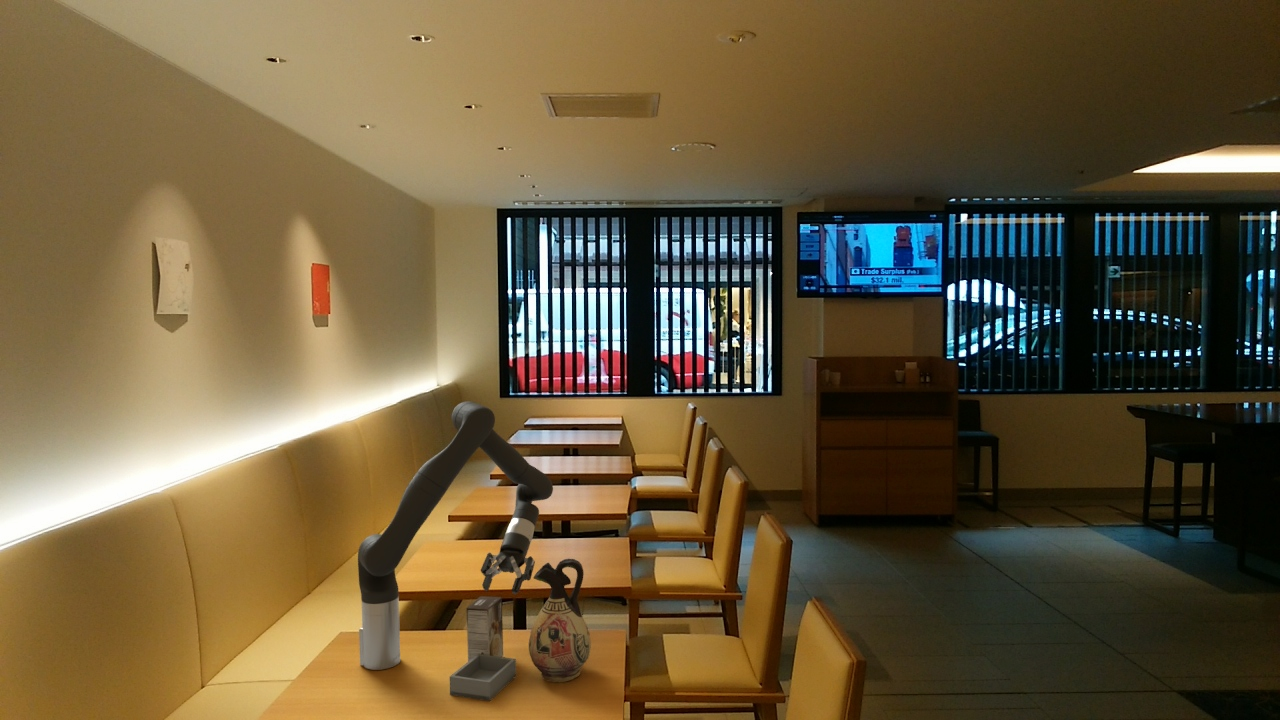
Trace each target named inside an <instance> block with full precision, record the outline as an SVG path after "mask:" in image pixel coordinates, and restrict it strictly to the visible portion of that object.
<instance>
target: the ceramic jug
mask: <svg viewBox="0 0 1280 720" xmlns="http://www.w3.org/2000/svg"><path fill="white" fill-rule="evenodd" d="M564 568H571V569H573V570H575V571H576V579H575V584H574V587H573V589H572V592H571V594H570V596H569V595H568V593H567V591H566V588H565V587H566V586H568V585H571V583H572V580H571V579H570V577H569V576H568V575H567V574H565V572H563V569H564ZM532 578H533V579H534V580H535V581H539V582H543V583H545V584H548V585H549V587H550V589H551V592H550V595H549V596H548V599H547V600H546V601H545V603H544V604H543V606H542V608H540V611H539V612H538V614H537V616H536V618H535V620H534V621H533V624H532V627H531V630H530V635H529V639H528V652H529V653H528V654H529V656H530V659H531V661H532V663H533V665H534V666H535V668H536V669H537V670H538V671H539V672H540V673H541V677H542V679H543V678H544V679H543V680H545V681H547V682H550V683H564V682H565V683H566V682H569V681H572V680H574V679H576V678H578V677H579V676H580V675H581V669H582V668H583V667H584V665H585V664H586V663H587V660H589V656H590V653H591V648H592V647H591V646H592V645H591V644H592V642H591V637H590V635H591V634H590V631H589V627H588V625H587V623H586V621H585V619H584V617H583V616H582V612H581V609H580V604H579V602H578V596H579V594H580V591H581V588H582V583H583V580H584V568H583V565H582V563H581V562H580V561H579V560H576V559H575V558H566V559H563V560H560V561H559V563H558V564H557V565H556V567H555V568H554V567H553V565H551V564H550V562H547V563H545V564H544V565H542V566H541V568H540V569H538V570H537V572H535V574H534V576H533V577H532Z"/></svg>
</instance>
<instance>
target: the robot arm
mask: <svg viewBox="0 0 1280 720" xmlns="http://www.w3.org/2000/svg"><path fill="white" fill-rule="evenodd" d="M451 423H452V425H453V427H454V429H456V431H457V433H456V434H455V436H454V437H453V438H452V440H451V441H450V443H449V444H448V445H447V446H446V447H445V448H444V449H443V450H441V451H440V452H438V453H437V454H436V455H434V456H432V457H431V458H430V459H429V460H427V461H426V462H425V463H423V465H421V467H420V468H419V469H418V470H417V472H416V473H415V474H414V476H413V478H411V480H410V482H409V483H408V485H407V487H406V488H405V490H404V493H403V494H402V497H401V499H400V502H399V504H398V507H397V510H396V511H395V515H394V516H393V519H391V521H390V523H389V525H388V526H387V527H386V528H385V530H384V531H383V532H382V533H381V534H380V533H378V534H376V533H375V534H371V535H369V536H367V537H366V538H364V540H363V541H361V543H360V545H359V548H358V550H357V551H358V552H357V567H358V568H357V569H358V571H357V572H358V585H359V589H360V596H361V597H360V598H361V621H362V623H361V625H362V627H360V628H359V629H358V635H359V636H358V637H359V638H358V639H359V665H360V666H363V667H364V668H365V669H367V670H371V671H372V670H374V671H377V670H378V671H379V670H387V669H390V668H394V667H395V666H397V665H398V664H399V663H400V662H401V637H400V635H401V633H400V632H401V630H400V629H401V628H400V602H399V600H400V598H399V597H400V596H399V595H400V593H399V584H398V581H397V578H396V568H398V566H399V564H400V563H401V561H402V559H403V557H404V556H405V554H406V552H407V550H408V548H409V546H410V544H411V542H412V541H413V540H414V537H416V534H418V531H419V530H420V529H421V527H422V526H423V525H424V523H425V522H426V521H427V520H428V518H429V516H430V515H431V514H432V512H433V511H434V509H435V508H436V507H437V505H438V504H439V503H440V502H441V500H442V498H443V497H444V496H445V494H446V493H447V491H448V490H449V488H450V486H451V485H452V483H453V482H454V481H455V479H456V478H457V476H458V475H460V472H461V471H462V470H463V468H464V467H465V465H466V464H467V462H468V461H469V460H470V458H471V457H472V456H473V454H474V453H475V452H476V451H477V450H478V449H479V448H480V449H481V450H482V451H483V453H485V454H486V455H487V456H488V457H489V458H490V459H491V461H492V462H493V463H494V464H495V465H496V466H497V467H498V468H499V469H500V471H501V472H502V473H503V474H504V475H505V476H506V478H508V479H509V480H510V481H511V482H512V483H513V484H518V485H517V487H516V493H515V508H514V512H513V514H512V518H511V520H510V523H509V524H508V526H507V529H506V530H505V531H506V532H505V534H504V537H503V539H502V541H501V546H500V548H499V552H498V554H492V553H491V552H487V554H486V557H485V558H484V561H483V563H482V566H481V569H480V572H481V574H482V575H483V577H484V579H483V582H482V588H483V590H484V591H485V592H488V591H490V587H491V584H492V581H493V578H494V577H495V576H497V575H499V574H500V573H502V572H503V573H511V574H513V573H515V575H516V577H515V580H513V581H514V582H513V584H512V586H511V587H512V588H511V593H512V594H513V595H517V594H518V593H519V592H520V590H521V587H522V585H523V583H524V581H530V580H531V579H532V576H533V571H534V568H535V565H536V561H535V559H534V558H533V556H528V557H527V555H528V552H529V549H530V545H531V542H532V540H533V536H534V531H535V528H536V525H537V522H538V519H539V515H540V510H539V507H538V506H537V505H535V504H533V502H537V501H545V500H547V499H549V498H550V497H552V495H553V491H554V487H553V486H554V485H553V482H552V480H551V479H550V477H548V475H547V474H545V473H544V472H543V471H541V470H539V468H537V467H535V466H533V465H531V464H530V463H529V462H528V461H527V460H526V459H525V457H524V456H523V455H522V454H521V453H520V452H519V451H518V450H517V449H516V448H515V447H514V446H513V445H511V444H510V443H509V442H508V441H507V440H505V439H504V438H503V437H502V436H501V435H500V434H499V433H497V432H496V431H495V429H494V426H495V423H496V416H495V413H494V411H493V410H492V409H490V408H488V407H487V406H485V405H482V404H481V403H480V404H479V403H477V402H474V401H469V400H468V401H467V400H466V401H462V402H460V403H458V404H457V405H456V406H455V407H454V409H453V411H452V413H451ZM495 561H496V562H495ZM523 565H525V569H524V571H523V572H522V570H521V567H523Z"/></svg>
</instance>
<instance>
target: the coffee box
mask: <svg viewBox="0 0 1280 720" xmlns="http://www.w3.org/2000/svg"><path fill="white" fill-rule="evenodd" d="M503 627H504V625H503V597H501V596H499V597H498V596H482V595H481V596H479V597H478V598H476V599H475V600H474V601H473V602H472V603H470V604H469V605H468V606H467V607H466V635H467V636H466V641H467V662H468V661H470V660H471V659H472V658H474V657H475V656H476V655H477V654H483V655H490V656H498V657H504V632H503V631H504V629H503Z"/></svg>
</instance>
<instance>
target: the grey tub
mask: <svg viewBox="0 0 1280 720" xmlns="http://www.w3.org/2000/svg"><path fill="white" fill-rule="evenodd" d="M516 659H517V658H511V657H504V656H503V657H498V656H490V655H483V654H477V655H476V656H475V657H474V658H472V659H471V660H470V661H468V660H467V662H466V663H464V665H462V666H461V667H459V668H458V669H457V670H456V671H455V672H454V673H452V674H451V675H449V696H452V697H453V696H454V697H460V698H461V697H462V698H466V699H467V698H468V699H475V700H480V701H487V702H490V701H492V700H493V699H492V698H495V697H496V696H497V695H498V694H499V693H500V692H501V691H503V689H504V688H505V687H506V685H509V684H510V683H511V682H512V681H513V680H514V679H515V678H516V677H517V663H516V662H517V660H516ZM509 682H510V683H509ZM508 683H509V684H508Z"/></svg>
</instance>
